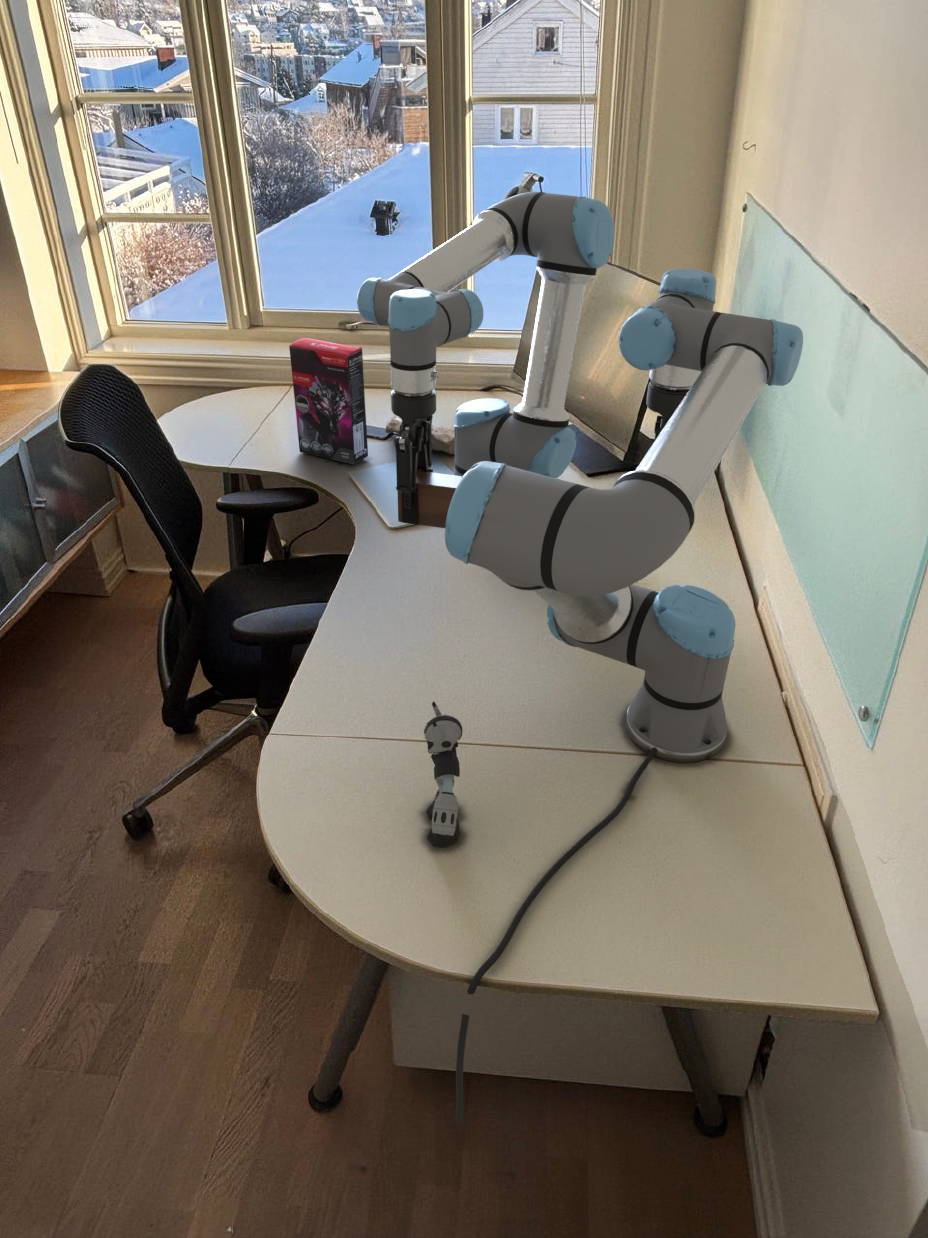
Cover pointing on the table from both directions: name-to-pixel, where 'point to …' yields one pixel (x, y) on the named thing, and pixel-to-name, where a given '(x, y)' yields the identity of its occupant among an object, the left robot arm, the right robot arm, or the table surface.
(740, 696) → the table surface
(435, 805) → the robot
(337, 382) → the graphics card box
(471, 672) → the table surface
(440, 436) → the stone
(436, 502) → the brown rectangular block
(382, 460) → the table surface
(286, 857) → the table surface
